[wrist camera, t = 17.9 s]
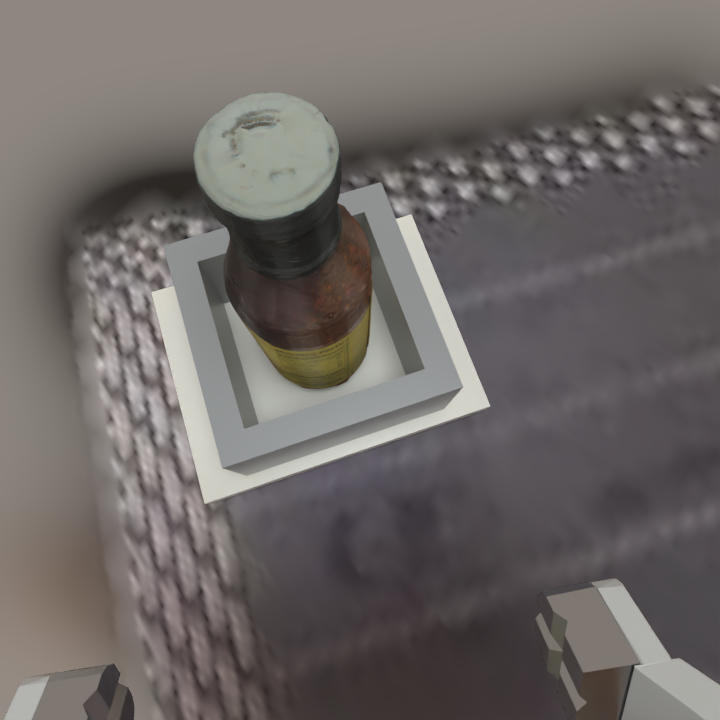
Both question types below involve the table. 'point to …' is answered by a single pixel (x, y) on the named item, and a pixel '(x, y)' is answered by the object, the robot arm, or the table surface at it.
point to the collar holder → (302, 405)
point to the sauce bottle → (288, 236)
